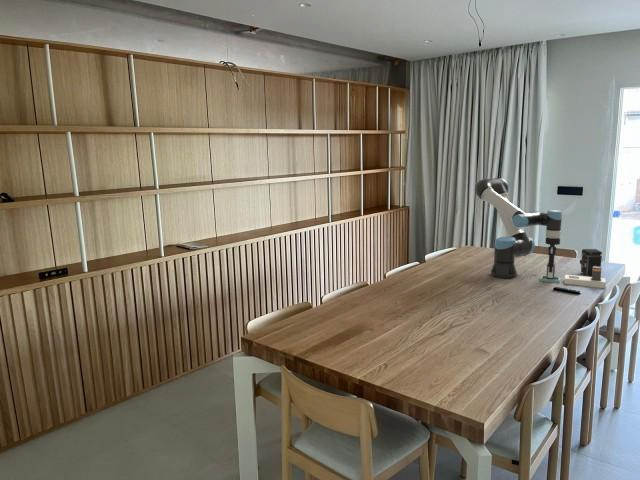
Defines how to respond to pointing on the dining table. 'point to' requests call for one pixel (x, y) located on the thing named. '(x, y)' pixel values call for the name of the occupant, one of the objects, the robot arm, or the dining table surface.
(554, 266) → the plug
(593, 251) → the camera
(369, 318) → the dining table surface
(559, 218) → the robot arm
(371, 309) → the dining table surface
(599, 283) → the battery charger
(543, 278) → the tray
